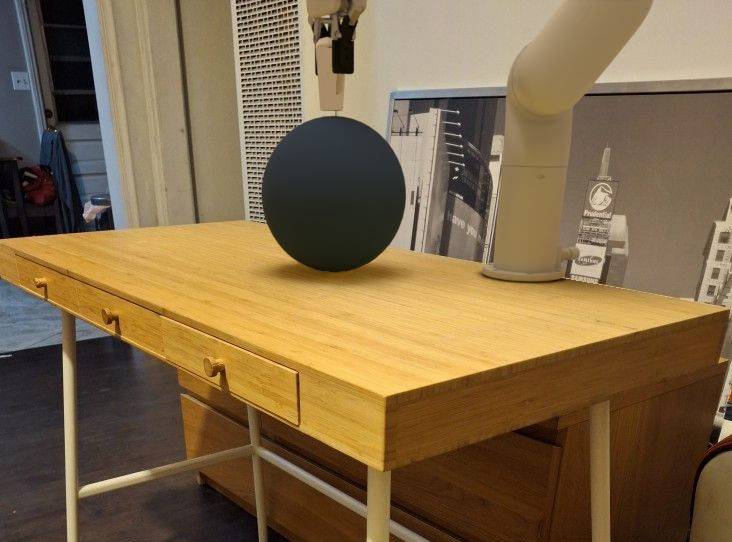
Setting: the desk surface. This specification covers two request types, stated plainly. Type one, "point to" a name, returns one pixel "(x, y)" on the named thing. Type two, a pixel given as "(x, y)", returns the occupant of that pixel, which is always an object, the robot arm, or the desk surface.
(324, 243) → the ball
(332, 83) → the milkshake
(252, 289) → the desk surface
